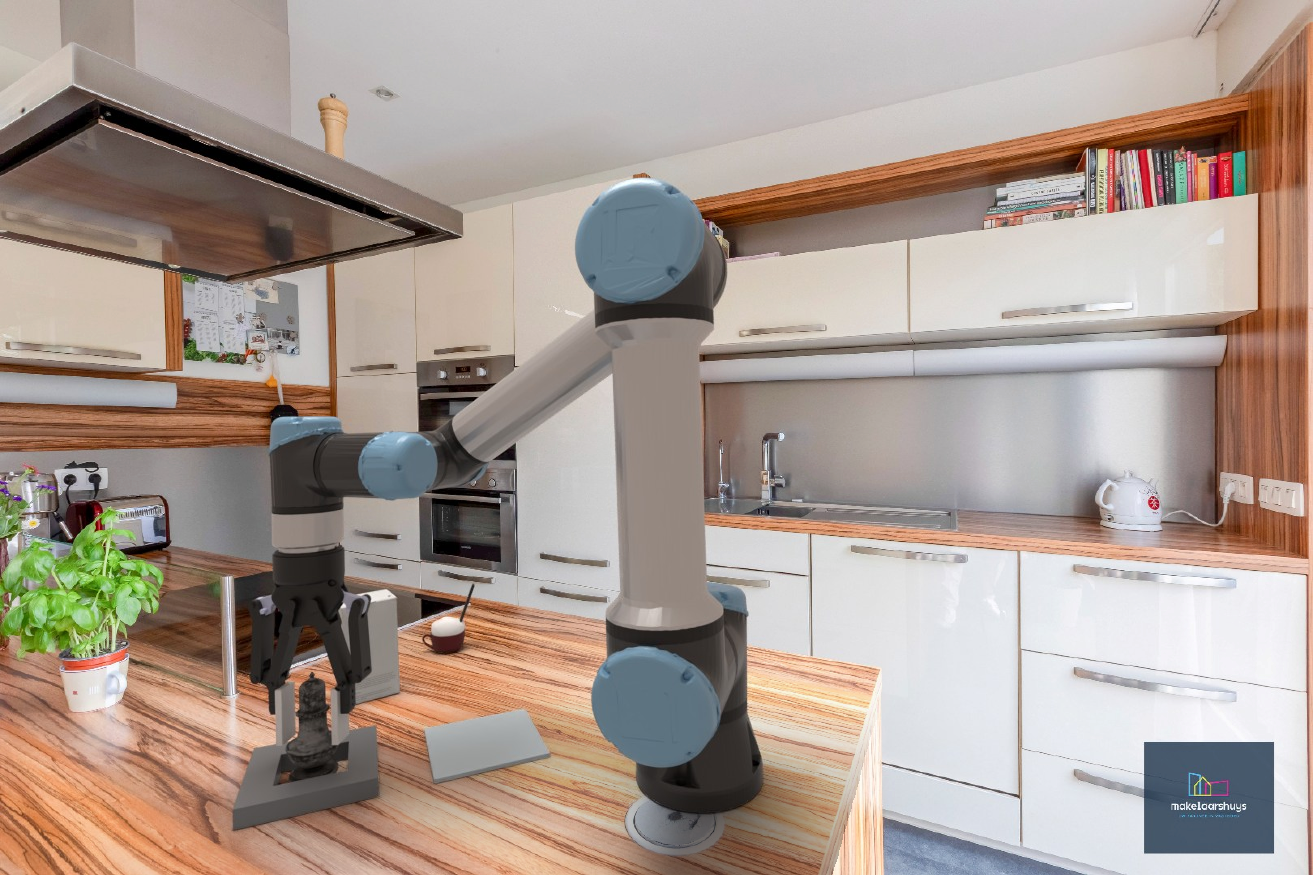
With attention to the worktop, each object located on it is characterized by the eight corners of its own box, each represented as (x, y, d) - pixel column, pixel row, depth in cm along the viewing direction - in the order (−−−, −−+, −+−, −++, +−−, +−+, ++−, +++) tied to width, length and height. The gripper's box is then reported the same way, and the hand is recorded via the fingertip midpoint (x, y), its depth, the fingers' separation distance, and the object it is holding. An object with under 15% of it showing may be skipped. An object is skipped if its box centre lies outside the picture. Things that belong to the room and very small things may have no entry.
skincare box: (391, 680, 105) (389, 587, 105) (401, 694, 100) (399, 596, 99) (335, 694, 100) (333, 596, 100) (343, 708, 95) (341, 605, 94)
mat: (550, 756, 80) (550, 752, 80) (434, 783, 75) (434, 779, 75) (525, 711, 93) (525, 708, 93) (424, 731, 87) (424, 728, 87)
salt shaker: (273, 783, 73) (271, 680, 73) (309, 756, 79) (307, 661, 79) (319, 787, 72) (317, 682, 72) (352, 760, 78) (350, 663, 78)
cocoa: (419, 657, 117) (414, 593, 116) (434, 644, 123) (430, 583, 122) (469, 656, 116) (464, 592, 115) (482, 643, 122) (477, 582, 121)
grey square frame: (378, 796, 72) (378, 777, 72) (232, 830, 66) (232, 809, 66) (376, 741, 85) (376, 724, 85) (254, 765, 79) (254, 748, 79)
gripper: (401, 539, 79) (404, 723, 79) (250, 541, 79) (254, 725, 79) (374, 551, 71) (378, 755, 72) (207, 553, 71) (212, 756, 72)
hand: (313, 739), depth 75 cm, fingers closed on salt shaker, 6 cm apart
